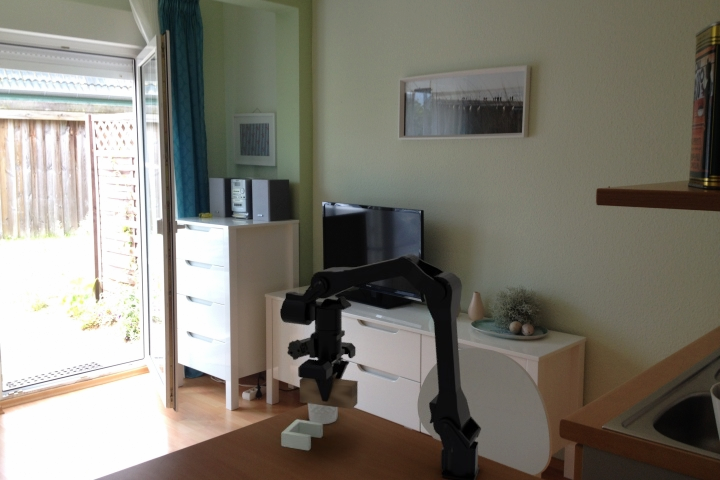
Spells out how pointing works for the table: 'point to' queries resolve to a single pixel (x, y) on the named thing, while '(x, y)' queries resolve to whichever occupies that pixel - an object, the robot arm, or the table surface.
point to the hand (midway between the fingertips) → (328, 398)
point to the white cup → (322, 413)
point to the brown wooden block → (339, 396)
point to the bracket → (301, 434)
